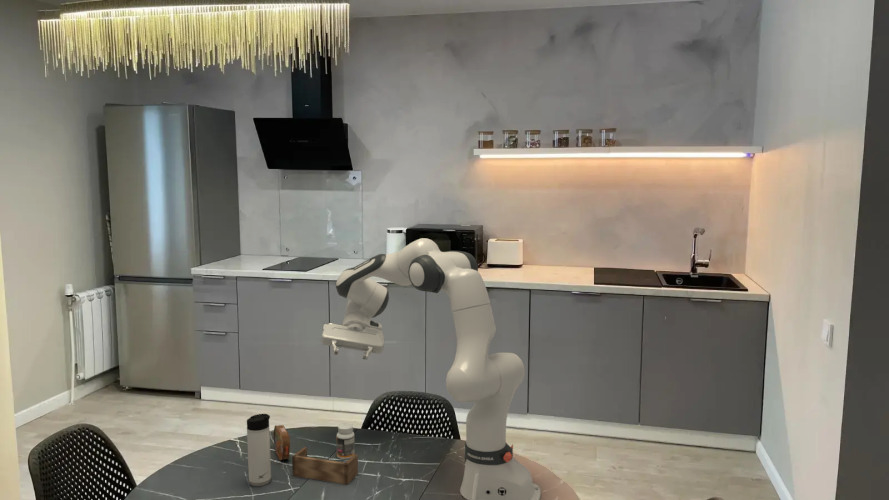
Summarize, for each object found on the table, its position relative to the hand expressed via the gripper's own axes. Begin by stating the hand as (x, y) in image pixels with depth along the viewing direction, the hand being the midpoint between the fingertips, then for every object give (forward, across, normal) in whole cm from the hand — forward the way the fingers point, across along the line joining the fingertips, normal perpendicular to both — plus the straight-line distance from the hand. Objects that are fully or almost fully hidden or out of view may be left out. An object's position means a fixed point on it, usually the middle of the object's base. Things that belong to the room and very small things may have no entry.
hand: (350, 355), depth 200 cm
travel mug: (+31, -19, +26) cm, 45 cm away
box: (+26, -1, +24) cm, 36 cm away
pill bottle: (+15, +4, +28) cm, 33 cm away
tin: (+14, -16, +34) cm, 40 cm away
